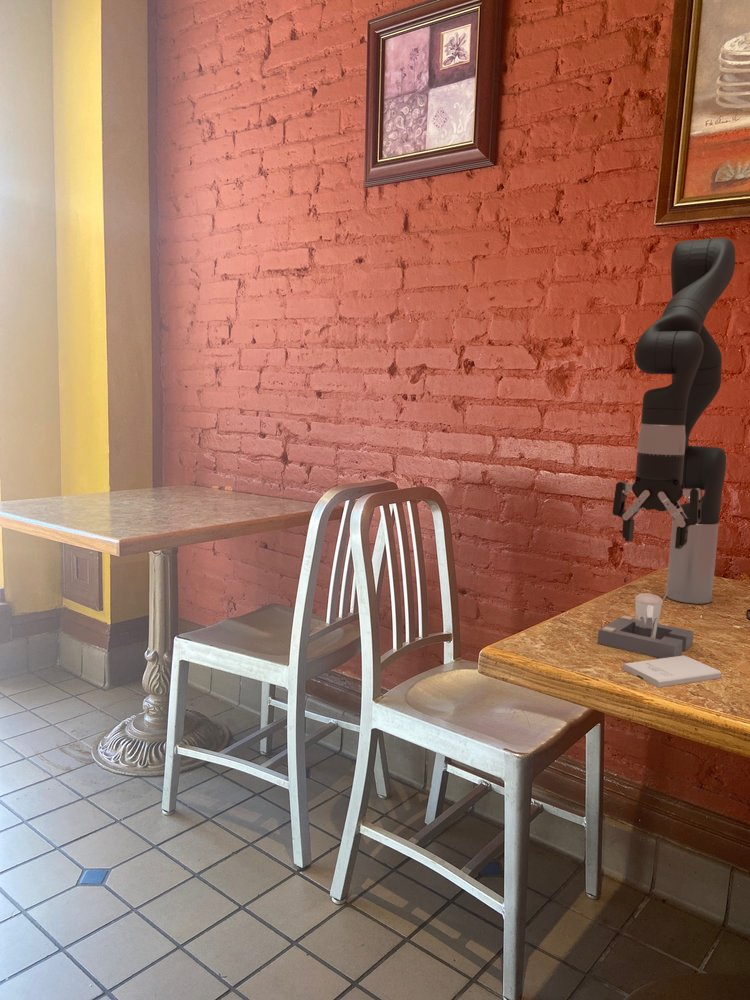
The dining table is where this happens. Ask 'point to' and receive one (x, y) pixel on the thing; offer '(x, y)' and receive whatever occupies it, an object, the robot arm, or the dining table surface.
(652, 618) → the milkshake
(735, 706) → the dining table surface
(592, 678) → the dining table surface
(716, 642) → the dining table surface
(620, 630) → the frame
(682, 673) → the external hard drive
